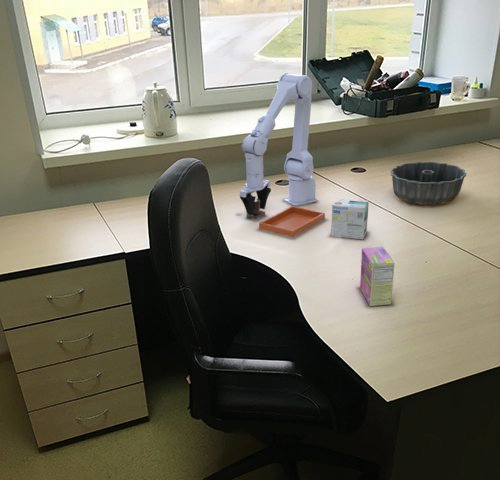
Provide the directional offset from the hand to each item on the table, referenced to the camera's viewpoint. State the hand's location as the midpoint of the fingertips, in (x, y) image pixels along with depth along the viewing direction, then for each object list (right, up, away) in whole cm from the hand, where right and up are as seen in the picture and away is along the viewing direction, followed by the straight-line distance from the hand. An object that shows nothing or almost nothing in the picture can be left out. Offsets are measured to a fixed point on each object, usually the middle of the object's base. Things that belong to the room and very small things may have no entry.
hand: (256, 211), depth 205 cm
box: (+30, -33, -51) cm, 68 cm away
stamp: (0, -2, +1) cm, 2 cm away
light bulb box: (+30, -11, -15) cm, 35 cm away
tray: (+12, -6, -6) cm, 15 cm away
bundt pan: (+62, +7, +12) cm, 64 cm away
